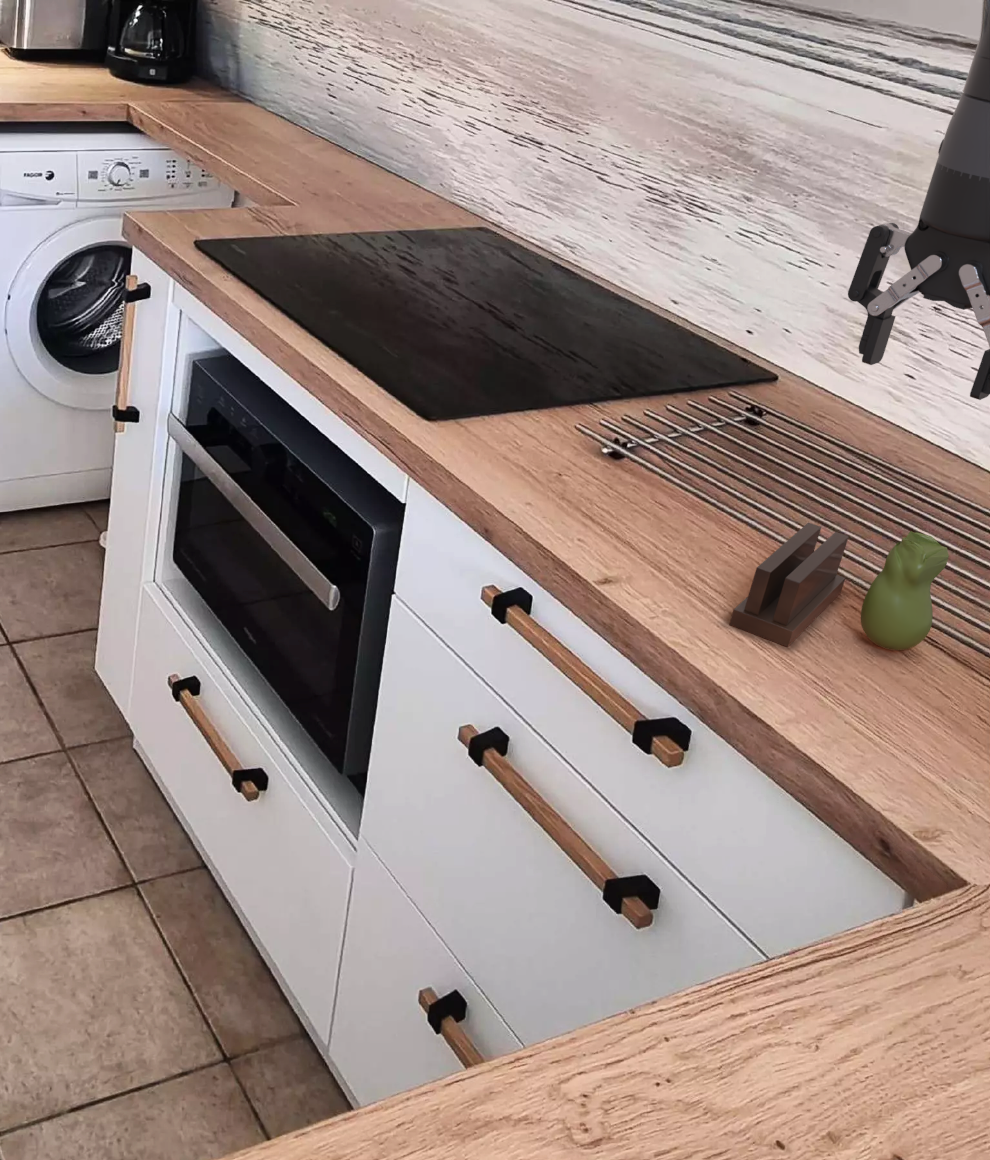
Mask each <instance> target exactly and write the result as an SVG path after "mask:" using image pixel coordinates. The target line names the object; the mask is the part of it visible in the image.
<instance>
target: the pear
mask: <svg viewBox="0 0 990 1160" xmlns="http://www.w3.org/2000/svg"><path fill="white" fill-rule="evenodd" d="M949 557H950V554H949V551H948V547H946V546H943V545H942V544H941V543H939V542H938V541H937V539H935V538H934V537H933V536H932V535H930V534H929V535H928V534H925V533H921V532H917V531H915V532H914V531H912V530H910V531H909V532H908V534H907V535H906V536H905V537H902V539H901V541H899V542H897V543H896V544H895V545H893V547H892V548H891V549H890V550H889V552H888V554H887V555H886V558H885V562H884V566H883V568H882V570H881V571H880V572H879V573H878V574H877V576H876V577H875V578H874V580H873V581H872V582H871V585H870V586H869V588H868V590H867V591H866V594H865V597H864V599H863V602H862V606H861V610H860V625H861V629H862V631H863V632H864V634H865V636H866V637H867V639H869V640H870V641H871V642H872V643H873V644H875V645H877V646H879V647H881V648H883V649H886V650H889V651H906V650H910V649H912V648H914V647H916V646H918V645H919V644H921V643H922V642H923V641H924V640H925V639H926V637H928V635H929V633H930V631H931V629H932V625H933V619H934V618H933V616H934V613H933V612H934V611H933V602H932V601H933V600H932V595H931V587H932V583H933V581H934V580H935V579H936V578H937V577H938V576H939V575H940V574H941V573H942V572H943V571H944V569H945V568H946V566H947V563H948V561H949Z"/></svg>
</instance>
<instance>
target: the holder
mask: <svg viewBox="0 0 990 1160" xmlns="http://www.w3.org/2000/svg"><path fill="white" fill-rule="evenodd" d="M821 530H822V526H820V525H817V524H814V523H811V522H807V523H806V524H804V526H803V527H801V528H800V529H799V530H798V531H797V532H795V534H794V535H792V536H791V537H789V538H788V540H786V541H785V542H784V543H783V544H782V545H781V546H779V547H778V548H777V549H776V550H775V551H773V552H772V553H771V554H770V555H769V556H768V557H766V559H764V560H763V561H762V562H761V563H760V564H759V565H758V566H757V567H756V568H755V571H754V575H753V579H752V582H751V585H750V588H749V592H748V595H747V596H746V597H745V599H743V600H742V602H740V603H739V604H738V605H736V607H735V608H733V611H732V615H731V617H730V621H729V624H728V625H729V626H732V627H734V628H737V629H739V630H742V631H745V632H747V633H750V634H753V635H754V636H758V637H760V638H763V639H765V640H767V641H768V640H769V641H771V642H773V643H776V644H779V645H781V646H784V647H787V648H789V646H790V645H792V644H793V642H794V641H795V640H796V639H797V638H798V637H799V636H800V635H801V634H802V633H803V632H804V631H805V630H806V629H807V628H809V626H810V624H812V623H813V622H814V621H815V620H816V619H817V618H818V616H819V615H821V613H823V612H824V611H825V609H827V607H828V606H830V604H831V603H833V601H835V599H836V598H837V597H838V596H839V595H840V594H841V593H842V591H843V587H844V584H845V581H846V577H844V576H841V575H838V571H839V569H840V565H841V562H842V560H843V555H844V553H845V549H846V546H847V543H848V541H849V535H847V534H844V533H840V532H839V531H835V532H833V534H831V535H830V536H829V537H828V538H827V539H826V540H825V541H824V542H823V543H822V544H821V545H819V546H818V547H817V548H816V546H817V544H818V540H819V537H820V533H821Z"/></svg>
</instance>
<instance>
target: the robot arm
mask: <svg viewBox="0 0 990 1160" xmlns="http://www.w3.org/2000/svg"><path fill="white" fill-rule="evenodd" d="M981 5H982V7H981V22H980V23H981V24H980V31H979V32H980V33H979V37H978V42H977V44H976V47H975V50H974V55H973V57H972V61H971V64H970V67H969V70H968V74H967V77H966V80H965V84H964V87H963V89H962V93H961V95H960V98H959V101H958V102H957V105H956V107H955V110H954V112H953V114H952V116H951V118H950V120H949V123H948V125H947V128H946V131H945V133H944V137H943V138H942V140H941V142H940V144H939V147H938V151H937V152H938V153H937V154H938V157H937V159H936V162H935V166H934V169H933V173H932V175H931V178H930V182H929V185H928V188H927V192H926V195H925V199H924V201H923V204H922V208H921V210H920V214H919V218H918V223H917V226H916V227H915V229H914V230H913V231H912V232H910V231H907V230H903V229H900V228H899V225H898V224H897V223H895V222H888V223H881V224H878V225H875V226H873V227H872V228H871V229H870V230H869V233H868V236H867V239H866V241H865V244H864V247H863V249H862V253H861V255H860V258H859V261H858V263H857V267H856V269H855V272H854V275H853V277H852V280H851V283H850V286H849V288H848V291H847V297H848V299H849V300H850V301H851V302H853V303H854V302H855V303H856V302H857V303H858V304H860V305H861V306H862V307H864V308H865V311H866V312H867V316H866V317H867V318H866V321H865V324H864V327H863V331H862V335H861V337H860V340H859V344H858V354H860V355H862V358H861V362H862V363H864V364H866V365H869V366H873V365H876V364H879V363H880V362H881V361H882V359H883V358H884V355H885V352H886V348H887V345H888V342H889V340H890V336H891V333H892V329H893V326H894V323H895V320H896V317H897V316H896V315H893V312H894V311H895V310H896V309H897V308H898V307H900V306H901V305H903V304H904V303H905V302H907V301H908V300H909V299H911V298H913V297H915V296H917V295H918V294H919V293H920V294H921V295H922V296H923V297H922V298H923V299H925V300H927V301H928V300H929V301H931V302H945V303H946V304H948V305H950V306H951V307H953V308H956V309H960V310H963V311H965V310H967V309H968V310H969V309H972V310H973V314H974V317H975V319H976V322H977V323H978V325H979V326H980V327H981V328H982V330H983V332H984V333H983V334H984V335H985V338H986V341H987V344H988V347H989V348H988V349H986V350H984V352H983V355H982V358H981V361H980V364H979V367H978V369H977V373H976V375H975V378H974V381H973V384H972V386H971V390H970V392H969V397H970V398H973V399H976V400H979V401H981V400H983V399H985V398H987V397H989V395H990V0H982V4H981ZM902 248H904V252H905V257H906V259H907V262H908V265H909V268H910V270H909V271H908V272H907V273H906V274H904V275H902V276H901V277H900V278H899V279H897V280H896V281H894V283H892V284H891V285H889V286H888V288H887V289H886V290H885V291H881V290H880V289H879V287H880V284H881V282H882V279H883V276H884V273H885V271H886V268H887V266H888V263H889V260H890V258H891V257H892V256H895V255H897V254H898V253H899V252H900V251H901V249H902Z"/></svg>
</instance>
